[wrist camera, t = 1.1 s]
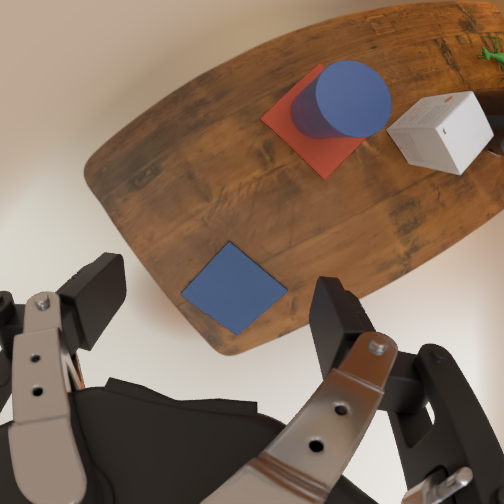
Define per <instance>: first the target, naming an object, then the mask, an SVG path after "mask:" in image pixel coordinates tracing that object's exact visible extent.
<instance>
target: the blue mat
mask: <svg viewBox="0 0 504 504" xmlns="http://www.w3.org/2000/svg"><path fill="white" fill-rule="evenodd" d="M287 291H288V290H287V289H286V288H285V287H284V286H283V285H281V284H280V283H279V282H278V281H277V280H275V279H274V278H273V277H272V276H271V275H269V274H268V273H267V272H266V271H265V270H263V269H262V268H261V267H260V266H259V265H257V264H256V263H255V262H254V261H253V260H251V259H250V258H249V257H248V256H247V255H246V254H244V253H243V252H242V251H241V250H240V249H238V248H237V247H236V246H235V245H234V244H232V243H231V242H230V241H229V242H228V243H227V244H226V245H225V246H224V247H223V248H222V249H221V250H220V251H219V253H218V254H217V255H216V256H215V257H214V258H213V259H212V260H211V261H210V262H209V263H208V264H207V265H206V267H205V268H204V269H203V270H202V271H201V272H200V273H199V274H198V275H197V276H196V277H195V278H194V280H193V281H192V282H191V283H190V284H189V285H188V286H187V287H186V288H185V289H184V291H183V292H182V293H181V295H182V296H183V297H185V298H186V299H187V300H189V301H190V302H191V303H193V304H194V305H195V306H197V307H198V308H199V309H201V310H202V311H203V312H205V313H206V314H208V315H209V316H210V317H212V318H213V319H215V320H216V321H217V322H219V323H220V324H222V325H223V326H224V327H226V328H227V329H229V330H230V331H232V332H233V333H234V334H236V335H238V334H239V333H241V332H242V331H243V330H244V329H245V328H246V327H248V326H249V325H250V324H251V323H252V322H253V321H254V320H256V319H257V318H258V317H259V316H260V315H261V314H263V313H264V312H265V311H266V310H267V309H268V308H269V307H270V306H272V305H273V304H274V303H275V302H276V301H277V300H278V299H279V298H281V297H282V296H283V295H284V294H285V293H286V292H287Z"/></svg>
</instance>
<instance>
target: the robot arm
mask: <svg viewBox="0 0 504 504" xmlns="http://www.w3.org/2000/svg"><path fill="white" fill-rule="evenodd" d="M467 91H472V92H473V93H474V95H475V97H476V99H477V100H478V102H479V104H480V106H481V108H482V110H483V112H484V114H485V116H486V119H487V121H488V123H489V125H490V127H491V130H492V132H493V135H494V136H493V137H492V138H491V140H490V141H489V142H488V143H487V145H486V146H485V147H484V148H483V150H482V151H481V152H487V153H492V154H494V155H496V156H498V157H501V156H499V155H502V156H504V88H489V89H477V90H467ZM467 91H464V92H467ZM126 290H127V289H126V280H125V270H124V260H123V257H122V255H121V254H114V253H106V252H105V253H103V254H102V255H101V256H100V257H98V258H97V259H96V260H95V261H94V262H93V263H91V264H88V265H86V266H84V267H83V268H81V269H80V270H79V271H78V272H77V274H75V275H74V276H72V278H71V279H69V280H68V281H67V282H66V283H65V284H64V285H63V286H61V287H60V288H59V290H57V291H56V292H55V293H54V292H41V293H38V294H36V295H34V296H32V297H31V298H30V299H29V300H28V301H27V303H26V304H14V301H13V297H12V294H11V293H10V292H7V291H0V345H1V348H2V350H1V351H0V412H1V411H2V409H3V407H4V405H5V404H6V402H7V400H8V398H9V397H10V395H11V394H12V407H13V420H12V421H9V422H7V423H5V424H3V425H0V504H378V503H377V502H376V501H375V500H373V499H372V498H371V497H369V496H368V495H367V494H366V493H364V492H363V491H362V490H361V489H359V488H358V487H357V486H356V485H354V484H353V483H352V482H351V481H350V480H348V479H347V478H346V477H345V476H344V475H342V473H343V471H344V470H345V468H346V467H347V465H348V463H349V461H350V460H351V458H352V456H353V454H354V453H355V451H356V449H357V448H358V446H359V444H360V442H361V440H362V439H363V437H364V434H365V433H366V430H367V429H368V427H369V425H370V423H371V421H372V419H373V417H374V415H375V413H376V410H383V411H387V413H388V416H389V420H390V423H391V427H392V430H393V433H394V437H395V440H396V445H397V448H398V452H399V456H400V460H401V464H402V468H403V472H404V476H405V480H406V485H407V490H408V492H407V493H406V494H405V495H404V497H403V499H402V502H401V504H504V454H503V451H502V449H501V447H500V444H499V442H498V440H497V438H496V436H495V433H494V431H493V429H492V427H491V425H490V423H489V421H488V419H487V417H486V415H485V413H484V411H483V409H482V407H481V405H480V403H479V402H478V399H477V398H476V396H475V394H474V392H473V390H472V389H471V387H470V385H469V383H468V382H467V380H466V378H465V377H464V375H463V373H462V371H461V370H460V368H459V367H458V365H457V363H456V362H455V360H454V358H453V357H452V355H451V354H450V353H449V352H448V351H447V350H446V349H445V348H443V347H441V346H439V345H436V344H425V345H423V346H422V347H421V348H420V350H419V352H418V354H417V355H416V354H411V353H406V352H401V351H398V347H397V344H396V343H395V342H394V340H393V339H391V338H390V337H389V336H387V335H385V334H382V333H380V332H376V330H375V329H374V327H373V325H372V323H371V321H370V319H369V318H368V316H367V314H366V313H365V310H364V309H363V307H362V305H361V303H360V301H359V300H358V298H357V297H356V296H355V295H354V294H352V293H351V292H350V291H347V290H344V288H343V286H342V284H341V282H340V281H339V279H338V278H334V277H323V276H320V277H319V278H318V280H317V283H316V288H315V292H314V296H313V300H312V304H311V308H310V313H309V324H310V328H311V332H312V336H313V339H314V344H315V348H316V352H317V356H318V359H319V364H320V368H321V372H322V377H323V382H322V383H321V385H320V386H319V387H318V389H317V390H316V391H315V393H314V394H313V395H312V396H311V398H310V399H309V400H308V401H307V402H306V404H305V405H304V406H303V407H302V408H301V410H300V411H299V412H298V413H297V414H296V415H295V417H294V418H293V419H292V420H291V421H290V422H289V424H288V425H285V424H284V423H282V422H281V421H278V420H276V419H274V418H272V417H269V416H267V415H264V414H260V413H257V402H252V401H239V400H228V399H204V400H183V401H181V400H174V399H172V398H169V397H167V396H165V395H162V394H160V393H158V392H155V391H153V390H151V389H148V388H147V387H145V386H142V385H138V384H134V383H130V382H126V381H122V380H118V379H115V378H111V377H110V378H109V379H108V381H107V383H106V385H105V387H90V388H85V385H84V381H83V377H82V373H81V368H80V364H79V359H78V355H77V353H76V351H77V349H78V348H81V349H84V350H88V351H91V349H92V347H93V346H94V344H95V343H96V341H97V340H98V338H99V337H100V335H101V334H102V332H103V331H104V329H105V328H106V327H107V325H108V324H109V322H110V321H111V319H112V317H113V316H114V315H115V314H116V312H117V311H118V309H119V308H120V306H121V305H122V304H123V302H124V300H125V297H126ZM428 402H430V404H431V407H432V409H433V411H434V415H435V420H434V424H432V422H431V419H430V417H429V414H428V412H427V409H426V407H425V406H426V404H427V403H428Z"/></svg>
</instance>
